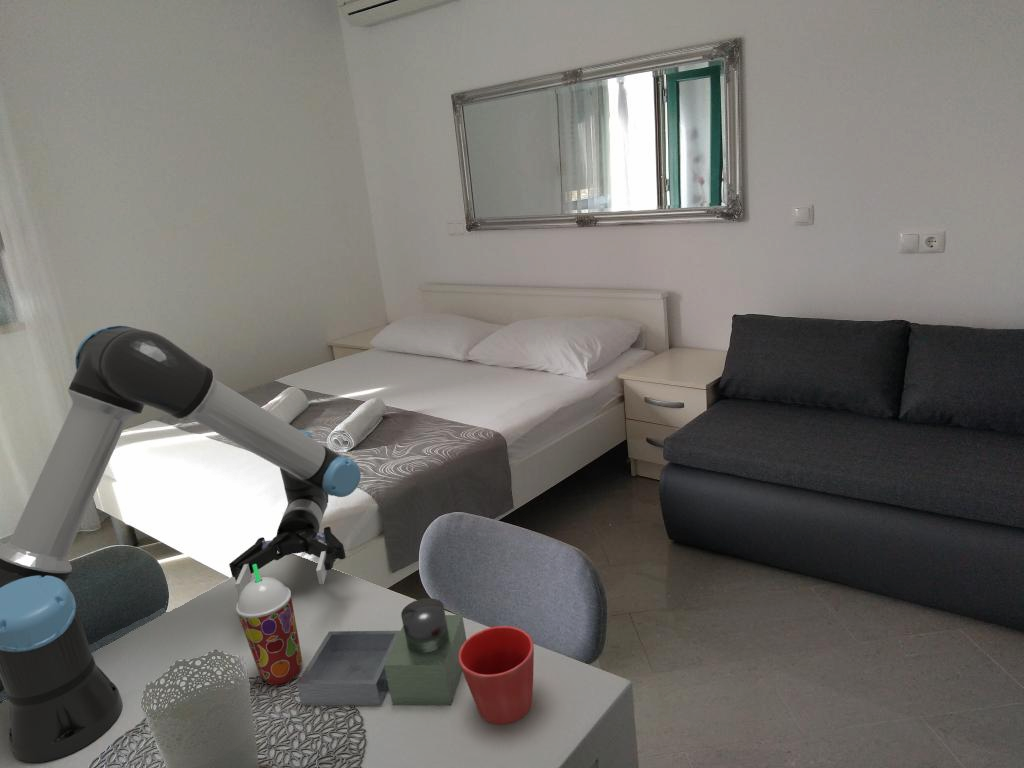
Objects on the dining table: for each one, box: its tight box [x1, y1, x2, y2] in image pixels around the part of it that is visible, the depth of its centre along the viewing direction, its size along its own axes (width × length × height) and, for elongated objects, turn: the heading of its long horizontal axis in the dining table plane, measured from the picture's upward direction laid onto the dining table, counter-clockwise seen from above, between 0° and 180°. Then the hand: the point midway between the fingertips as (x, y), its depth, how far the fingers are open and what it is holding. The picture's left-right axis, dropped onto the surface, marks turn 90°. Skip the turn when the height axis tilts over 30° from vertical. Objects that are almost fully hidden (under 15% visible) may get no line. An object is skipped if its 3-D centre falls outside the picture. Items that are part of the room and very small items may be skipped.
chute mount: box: [296, 597, 467, 707], centre depth 116 cm, size 23×13×12 cm, turn 81°
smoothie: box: [235, 564, 303, 685], centre depth 120 cm, size 8×8×20 cm
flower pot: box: [459, 625, 535, 726], centre depth 107 cm, size 11×11×10 cm
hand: (279, 584), depth 128 cm, fingers open, 13 cm apart
